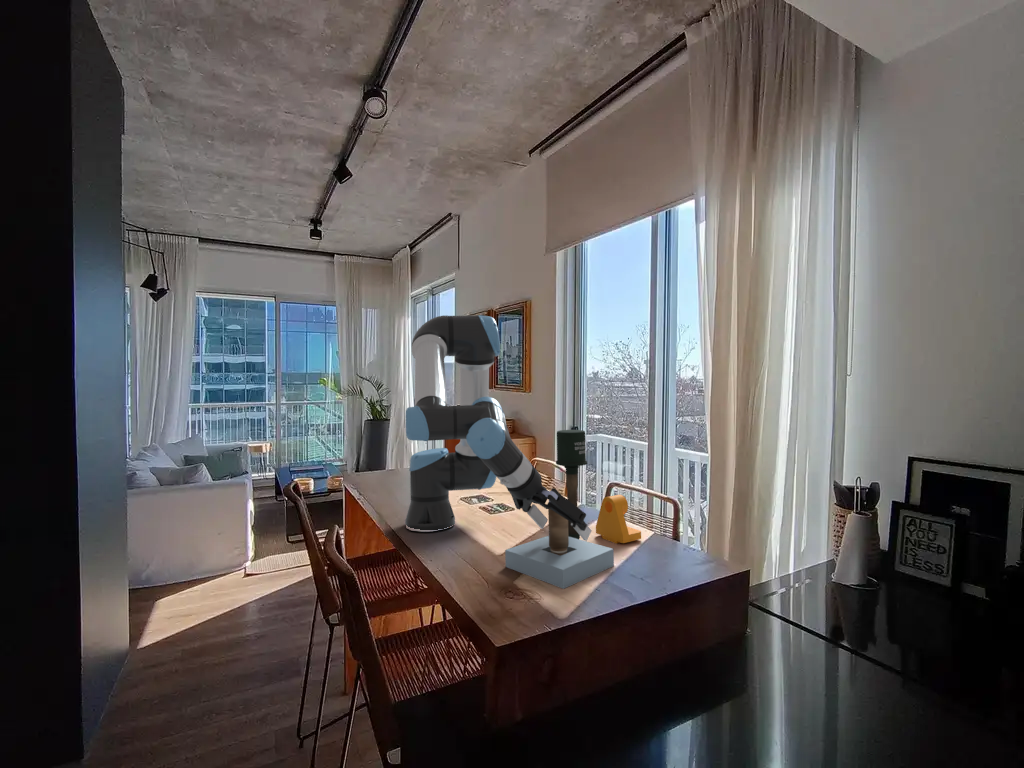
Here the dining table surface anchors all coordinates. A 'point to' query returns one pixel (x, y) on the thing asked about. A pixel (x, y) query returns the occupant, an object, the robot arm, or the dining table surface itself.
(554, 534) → the peg
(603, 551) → the socket plate
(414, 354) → the robot arm
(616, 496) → the bracket
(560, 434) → the potato masher grenade
